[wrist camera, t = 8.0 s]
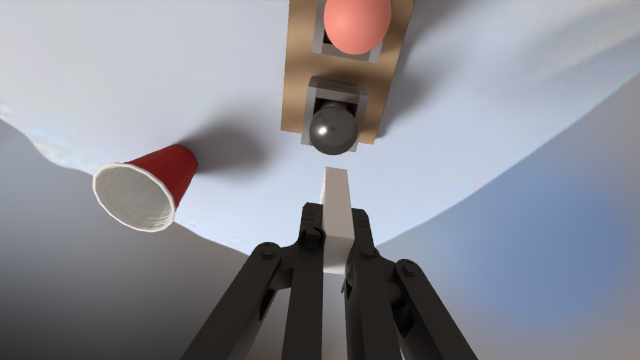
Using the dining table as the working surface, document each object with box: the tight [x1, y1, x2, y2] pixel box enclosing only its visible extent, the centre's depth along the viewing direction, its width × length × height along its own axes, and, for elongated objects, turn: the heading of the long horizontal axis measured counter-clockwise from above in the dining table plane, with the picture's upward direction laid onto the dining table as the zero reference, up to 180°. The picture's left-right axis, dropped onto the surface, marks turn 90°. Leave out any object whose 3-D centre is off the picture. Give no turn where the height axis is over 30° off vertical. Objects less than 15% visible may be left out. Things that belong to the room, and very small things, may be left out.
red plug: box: [324, 0, 391, 55], centre depth 23 cm, size 5×5×9 cm
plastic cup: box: [93, 145, 197, 232], centre depth 38 cm, size 11×11×12 cm
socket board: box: [281, 0, 415, 152], centre depth 28 cm, size 30×14×8 cm, turn 171°
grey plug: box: [309, 98, 358, 155], centre depth 31 cm, size 5×5×9 cm
